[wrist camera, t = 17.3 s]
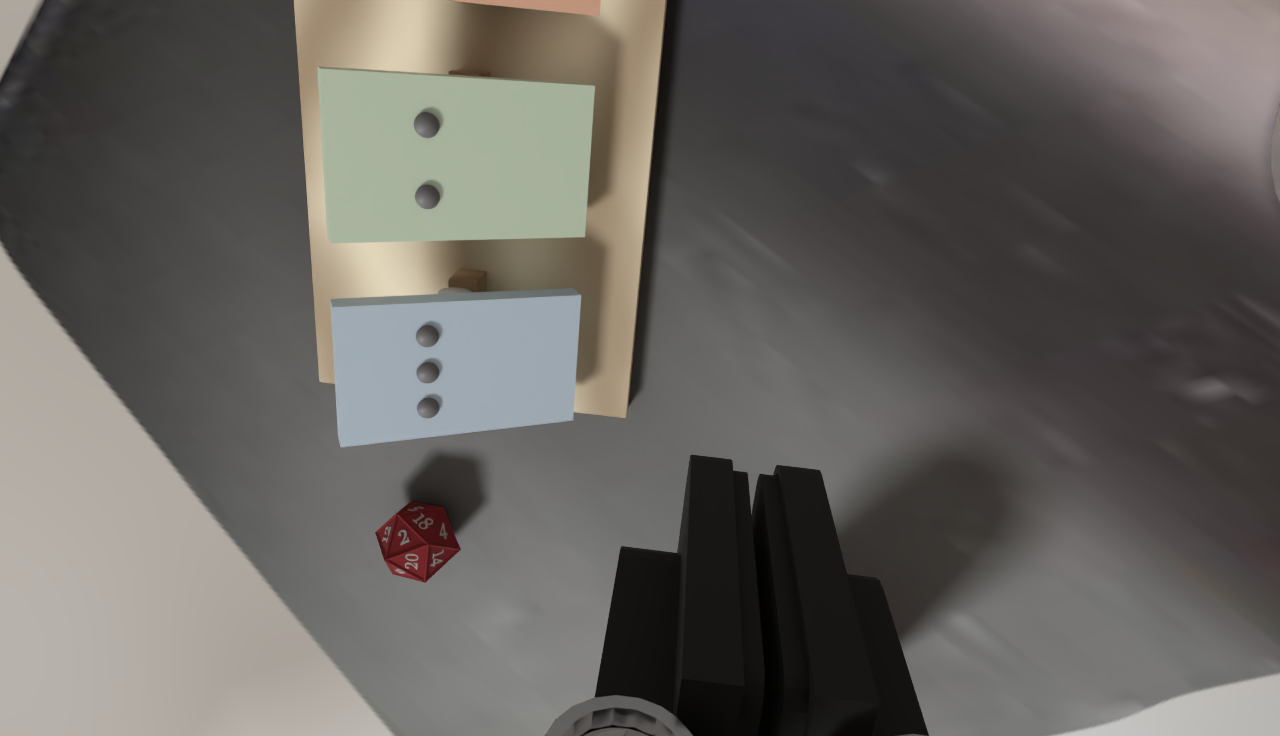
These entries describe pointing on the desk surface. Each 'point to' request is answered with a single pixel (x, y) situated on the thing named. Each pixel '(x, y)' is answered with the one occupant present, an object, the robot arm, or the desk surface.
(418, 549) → the dice
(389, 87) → the tile
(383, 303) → the tile
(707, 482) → the robot arm
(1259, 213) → the desk surface
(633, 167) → the board
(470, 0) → the tile
